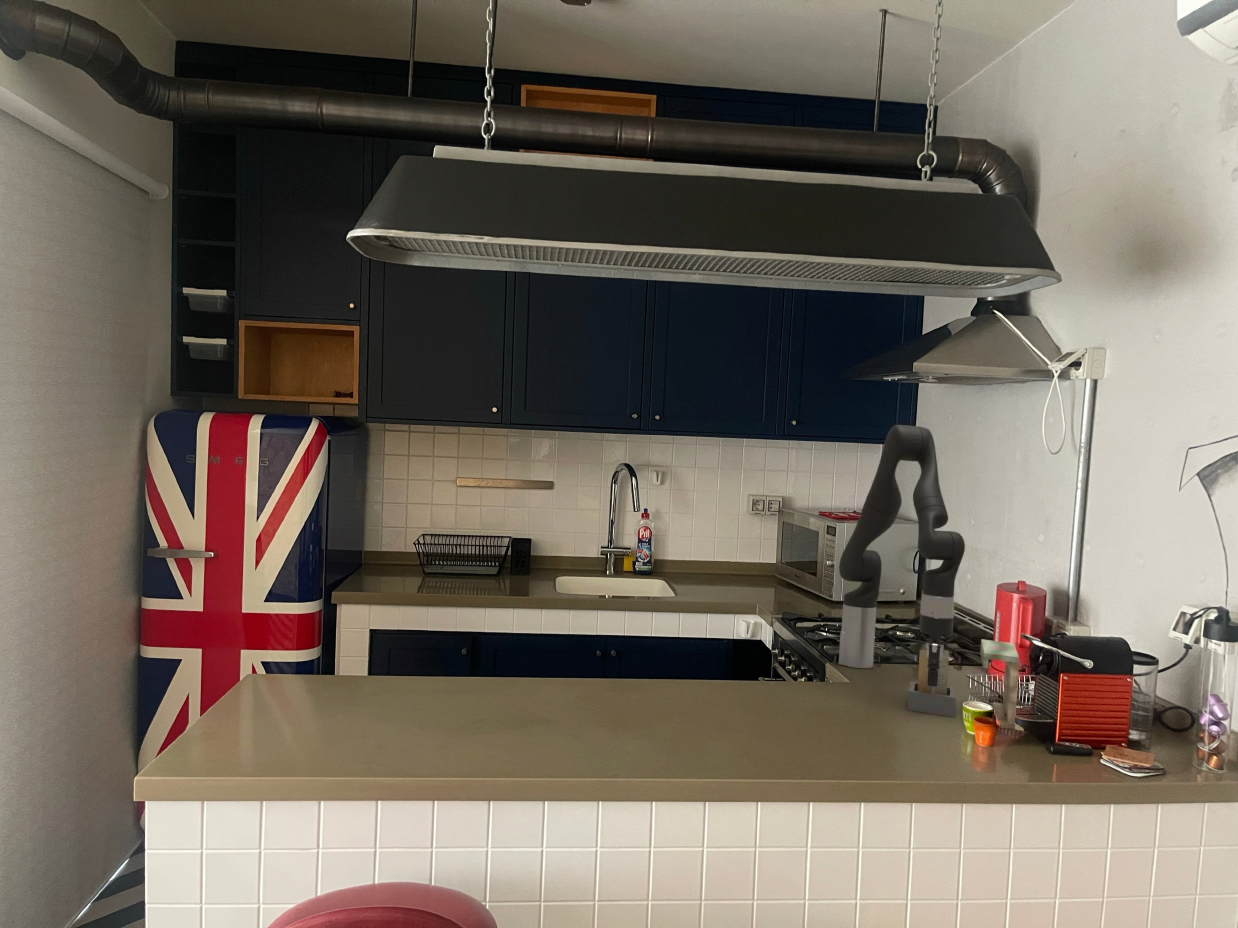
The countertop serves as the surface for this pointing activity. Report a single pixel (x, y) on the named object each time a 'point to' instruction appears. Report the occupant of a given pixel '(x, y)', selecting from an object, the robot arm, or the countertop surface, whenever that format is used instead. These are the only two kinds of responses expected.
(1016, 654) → the awning stand
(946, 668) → the skincare box
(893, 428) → the robot arm
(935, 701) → the socket
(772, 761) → the countertop surface
